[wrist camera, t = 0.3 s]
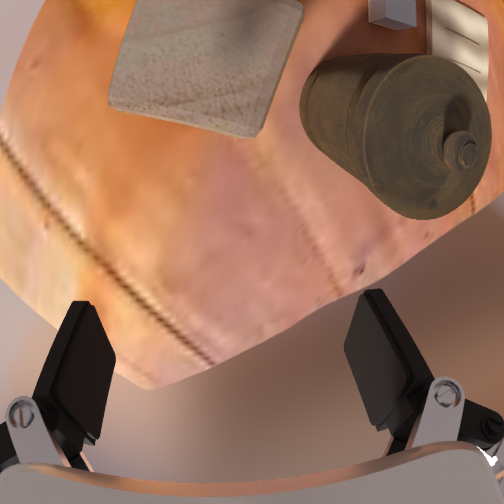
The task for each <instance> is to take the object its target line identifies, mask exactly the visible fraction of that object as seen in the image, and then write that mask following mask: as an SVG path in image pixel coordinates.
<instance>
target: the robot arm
mask: <svg viewBox="0 0 504 504" xmlns="http://www.w3.org/2000/svg"><path fill="white" fill-rule="evenodd" d="M344 352H345V355H346V357H347V360H348V362H349V365H350V368H351V370H352V373H353V376H354V378H355V381H356V384H357V386H358V389H359V392H360V395H361V397H362V400H363V403H364V406H365V408H366V411H367V414H368V417H369V420H370V422H371V424H372V425H374V426H376V429H377V431H381V430H385V429H388V428H389V431H390V433H391V437H390V440H389V442H388V444H387V447H386V449H385V451H384V454H383V456H382V458H378V459H375V460H371V461H367V462H363V463H360V464H356V465H352V466H348V467H344V468H339V469H335V470H330V471H325V472H320V473H315V474H310V475H304V476H297V477H290V478H283V479H274V480H265V481H254V482H238V483H175V482H161V481H150V480H140V479H132V478H125V477H119V476H112V475H106V474H100V473H95V472H94V470H93V469H92V467H91V465H90V464H89V462H88V460H87V459H86V457H85V456H84V454H83V452H82V448H83V444H88V445H93V446H94V445H95V441H96V439H99V437H100V433H101V427H102V422H103V417H104V412H105V406H106V402H107V397H108V392H109V388H110V384H111V379H112V375H113V371H114V367H115V363H116V356H115V353H114V350H113V348H112V346H111V344H110V342H109V340H108V337H107V335H106V333H105V330H104V328H103V326H102V323H101V321H100V319H99V316H98V314H97V311H96V309H95V307H94V306H93V305H91V304H90V302H89V301H73V302H72V303H71V305H70V307H69V309H68V311H67V314H66V316H65V318H64V320H63V322H62V324H61V326H60V329H59V331H58V333H57V335H56V337H55V340H54V342H53V344H52V346H51V349H50V351H49V354H48V356H47V358H46V361H45V363H44V366H43V369H42V371H41V374H40V376H39V379H38V382H37V385H36V387H35V390H34V393H33V396H32V399H31V398H30V397H27V396H20V397H18V398H15V399H14V400H13V401H12V402H11V403H10V404H9V405H8V408H7V410H6V416H5V417H6V421H5V422H3V423H2V424H0V504H504V420H503V418H502V417H501V416H500V415H499V414H498V413H497V412H495V411H493V410H491V409H488V408H486V407H483V406H481V405H479V404H476V403H474V402H471V401H469V400H467V399H465V394H464V390H463V388H462V387H461V385H460V384H459V383H458V382H457V381H456V380H454V379H452V378H450V377H439V378H437V379H434V377H433V375H432V373H431V371H430V369H429V367H428V366H427V364H426V362H425V360H424V358H423V356H422V355H421V353H420V351H419V349H418V348H417V346H416V344H415V342H414V341H413V339H412V337H411V335H410V334H409V332H408V330H407V329H406V327H405V326H404V324H403V323H402V321H401V319H400V318H399V316H398V314H397V313H396V311H395V309H394V308H393V306H392V304H391V303H390V301H389V300H388V298H387V296H386V295H385V293H384V292H383V290H382V289H380V288H379V289H368V290H365V291H364V293H363V294H361V295H360V297H359V300H358V303H357V306H356V309H355V312H354V316H353V319H352V322H351V325H350V328H349V331H348V334H347V337H346V340H345V343H344Z"/></svg>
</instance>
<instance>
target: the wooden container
mask: <svg viewBox="0 0 504 504" xmlns="http://www.w3.org/2000/svg"><path fill="white" fill-rule="evenodd" d="M300 117H301V121H302V125H303V127H304V130H305V132H306V134H307V136H308V137H309V139H310V140H311V141H312V143H313V144H314V145H315V146H316V147H317V148H318V149H319V150H320V151H322V152H323V153H324V154H325V155H327V156H328V157H329V158H330V159H331V160H333V161H334V162H335V163H336V164H338V165H339V166H340V167H342V168H343V169H344V170H346V171H347V172H348V173H350V174H351V175H353V176H354V177H355V178H357V179H358V180H359V181H361V182H362V183H363V184H364V185H366V186H367V187H368V188H369V190H370V191H371V192H372V193H373V194H374V195H375V196H376V197H377V198H379V199H380V200H381V201H382V202H383V203H384V204H386V205H387V206H388V207H389V208H391V209H392V210H394V211H395V212H397V213H398V214H400V215H402V216H405V217H407V218H411V219H417V220H429V219H435V218H439V217H442V216H444V215H446V214H448V213H450V212H452V211H453V210H455V209H456V208H458V207H459V206H460V205H462V204H463V203H464V202H465V201H466V200H467V199H468V198H469V196H470V195H471V194H472V193H473V191H474V190H475V188H476V187H477V185H478V184H479V182H480V180H481V178H482V176H483V174H484V171H485V169H486V165H487V162H488V159H489V154H490V149H491V139H492V131H491V120H490V114H489V110H488V107H487V104H486V101H485V99H484V96H483V94H482V92H481V90H480V88H479V87H478V85H477V84H476V82H475V81H474V80H473V78H472V77H471V76H470V75H469V74H468V73H467V72H466V71H465V70H464V69H463V68H462V67H460V66H459V65H457V64H456V63H454V62H452V61H450V60H448V59H446V58H443V57H439V56H435V55H428V54H380V53H378V54H362V55H353V56H343V57H338V58H334V59H331V60H329V61H327V62H325V63H323V64H322V65H320V66H319V67H318V68H317V69H315V70H314V72H313V73H312V74H311V75H310V76H309V78H308V79H307V81H306V83H305V85H304V87H303V90H302V93H301V98H300Z"/></svg>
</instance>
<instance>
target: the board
mask: <svg viewBox="0 0 504 504" xmlns="http://www.w3.org/2000/svg"><path fill="white" fill-rule="evenodd" d="M425 4H426V54H428V55H435V56H439V57H443V58H446V59H448V60H450V61H452V62H454V63H456V64H457V65H459V66H460V67H462V68H463V69H464V70H465V71H466V72H467V73H468V74H469V75H470V76H471V77H472V78H473V80H474V81H475V82H476V84H477V85H478V87H479V88H480V90H481V92H482V94H483V96H484V99H485V101H486V98H487V84H488V23H487V19H486V18H484V17H482V16H481V15H479V14H478V13H476V12H474V11H472V10H471V9H469V8H467V7H465V6H464V5H462V4H460V3H458V2H456V1H454V0H425Z"/></svg>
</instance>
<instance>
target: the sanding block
mask: <svg viewBox="0 0 504 504" xmlns="http://www.w3.org/2000/svg"><path fill="white" fill-rule="evenodd" d="M368 17H369V23H373V24H377V25H380V26H384V27H388V28H391V29H394V30H402V29H409V28H416V27H417V21H416V0H368Z"/></svg>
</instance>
